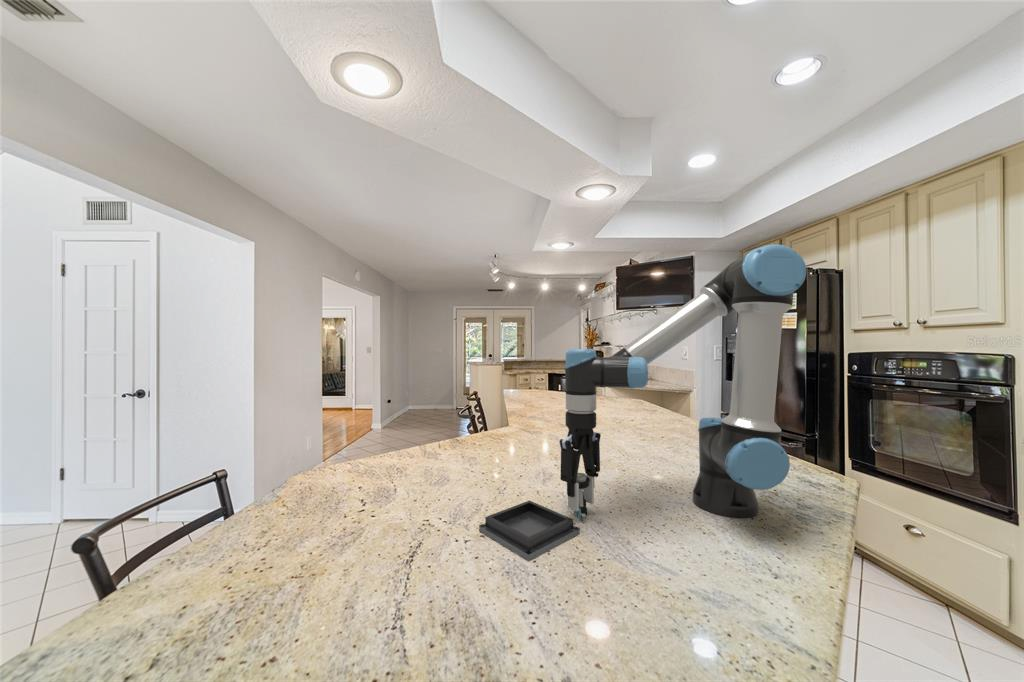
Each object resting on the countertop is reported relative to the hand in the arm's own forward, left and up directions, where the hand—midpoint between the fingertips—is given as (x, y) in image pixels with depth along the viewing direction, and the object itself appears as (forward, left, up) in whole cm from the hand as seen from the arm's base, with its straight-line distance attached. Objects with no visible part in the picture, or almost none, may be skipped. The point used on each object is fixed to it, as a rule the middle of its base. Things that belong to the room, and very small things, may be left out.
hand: (581, 505), depth 91 cm
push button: (0, 0, -3) cm, 3 cm away
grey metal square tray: (+3, +15, -3) cm, 16 cm away
